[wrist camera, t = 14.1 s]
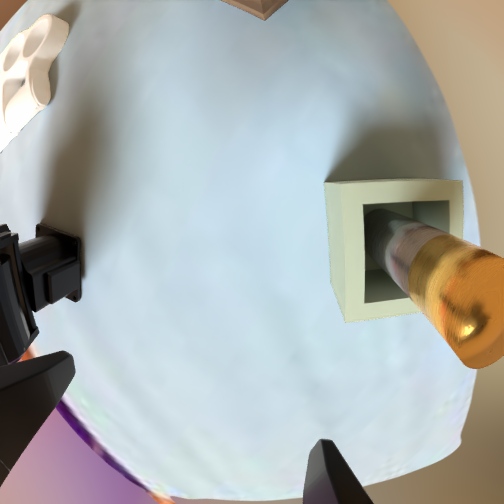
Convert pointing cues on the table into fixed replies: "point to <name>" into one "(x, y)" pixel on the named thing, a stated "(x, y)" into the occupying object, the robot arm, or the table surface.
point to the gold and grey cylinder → (444, 282)
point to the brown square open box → (258, 6)
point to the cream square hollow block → (352, 238)
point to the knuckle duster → (28, 73)
